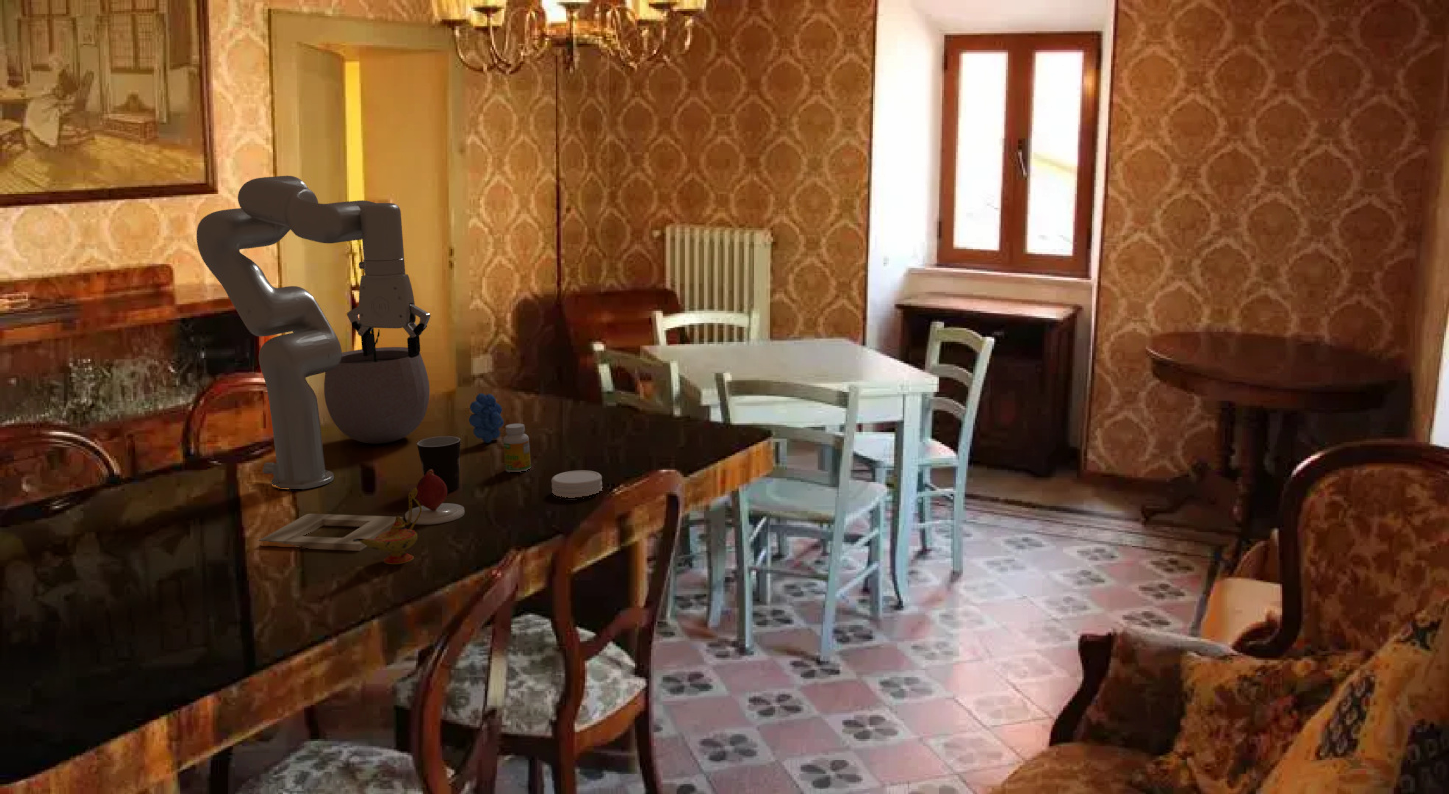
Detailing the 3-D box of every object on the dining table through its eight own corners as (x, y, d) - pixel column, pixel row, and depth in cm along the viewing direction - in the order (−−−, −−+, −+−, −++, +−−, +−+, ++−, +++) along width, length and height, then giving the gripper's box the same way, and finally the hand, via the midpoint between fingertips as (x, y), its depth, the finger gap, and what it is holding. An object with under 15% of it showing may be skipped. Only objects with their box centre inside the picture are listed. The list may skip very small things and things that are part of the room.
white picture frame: (259, 546, 236) (259, 540, 236) (308, 519, 251) (307, 513, 251) (360, 550, 231) (359, 544, 231) (403, 523, 246) (402, 516, 246)
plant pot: (450, 429, 321) (439, 307, 314) (406, 454, 298) (393, 323, 291) (361, 428, 326) (348, 308, 320) (310, 453, 303) (295, 324, 297)
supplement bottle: (500, 472, 279) (497, 427, 277) (514, 465, 284) (510, 422, 281) (522, 474, 277) (519, 429, 275) (535, 467, 282) (532, 423, 279)
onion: (422, 517, 246) (418, 475, 244) (414, 509, 251) (409, 469, 249) (452, 511, 248) (448, 470, 247) (443, 504, 253) (440, 464, 252)
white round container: (613, 491, 261) (612, 474, 261) (575, 503, 254) (573, 486, 254) (579, 483, 268) (578, 467, 267) (542, 495, 261) (540, 478, 260)
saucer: (394, 523, 246) (394, 518, 246) (422, 506, 256) (421, 501, 256) (448, 525, 243) (448, 520, 243) (474, 508, 253) (473, 503, 253)
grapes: (488, 450, 298) (484, 398, 296) (464, 448, 301) (460, 396, 299) (518, 438, 309) (514, 388, 306) (494, 436, 311) (490, 386, 309)
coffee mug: (454, 495, 263) (450, 446, 261) (414, 494, 265) (409, 446, 263) (476, 479, 274) (472, 432, 272) (438, 478, 276) (433, 432, 274)
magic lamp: (341, 578, 217) (334, 514, 215) (408, 544, 233) (402, 484, 231) (374, 582, 214) (368, 517, 212) (440, 547, 230) (435, 487, 228)
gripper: (334, 270, 251) (341, 358, 255) (416, 271, 247) (422, 361, 250) (354, 265, 258) (361, 350, 262) (434, 266, 254) (440, 353, 257)
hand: (391, 355), depth 256 cm, fingers open, 9 cm apart
